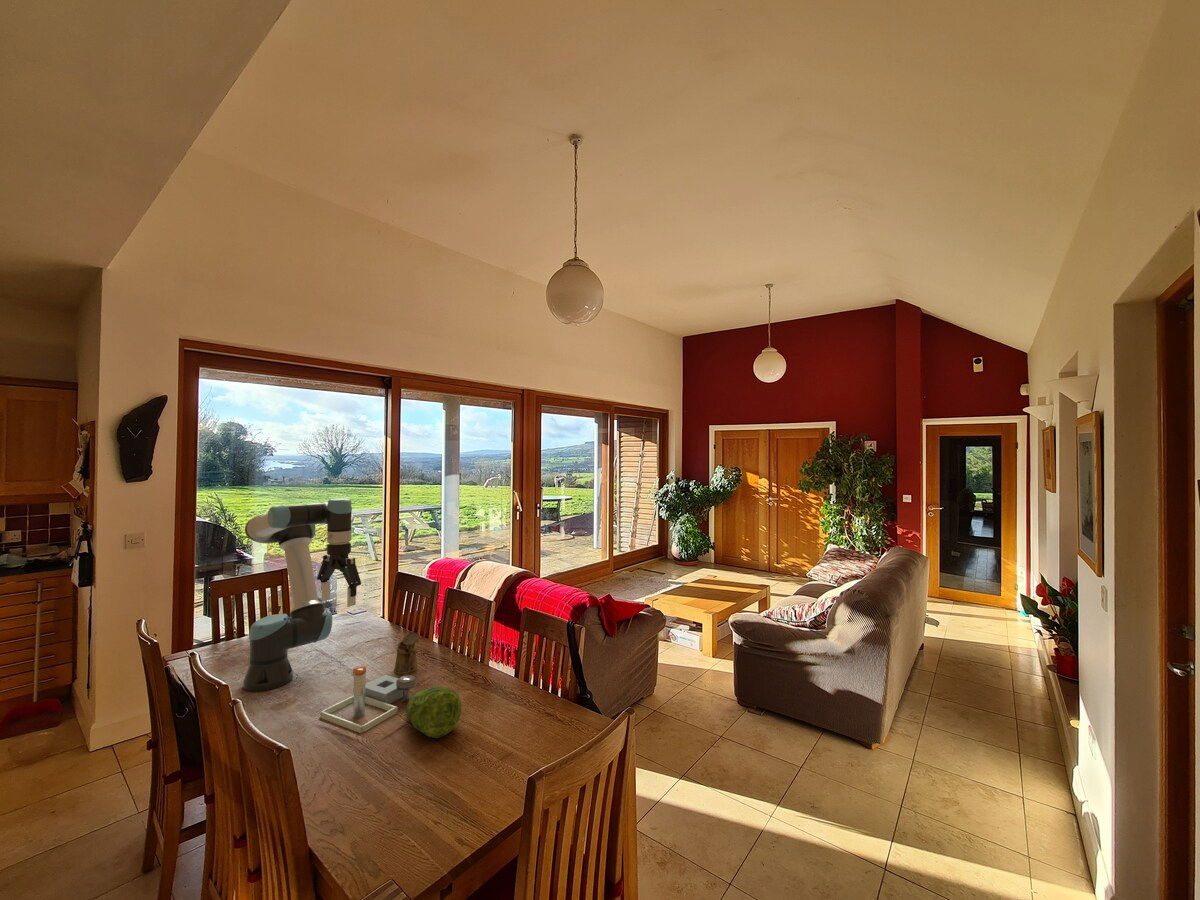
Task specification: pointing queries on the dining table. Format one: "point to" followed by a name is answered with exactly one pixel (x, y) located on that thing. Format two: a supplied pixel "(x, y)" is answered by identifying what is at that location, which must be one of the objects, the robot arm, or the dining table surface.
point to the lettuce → (434, 711)
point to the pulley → (406, 685)
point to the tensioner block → (383, 689)
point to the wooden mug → (407, 655)
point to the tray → (353, 726)
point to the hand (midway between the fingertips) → (338, 603)
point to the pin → (359, 692)
